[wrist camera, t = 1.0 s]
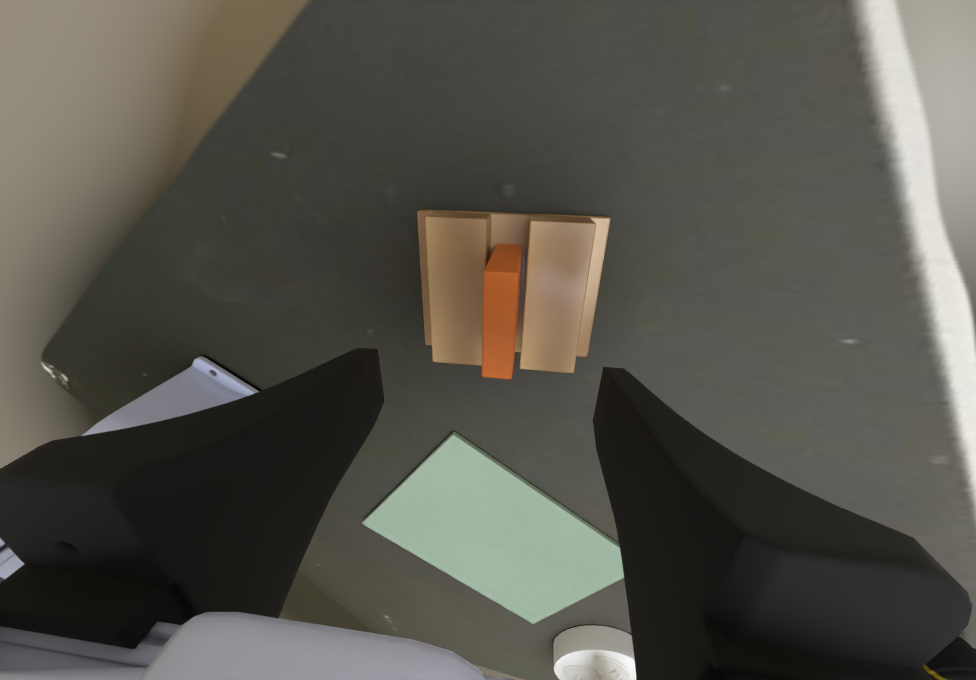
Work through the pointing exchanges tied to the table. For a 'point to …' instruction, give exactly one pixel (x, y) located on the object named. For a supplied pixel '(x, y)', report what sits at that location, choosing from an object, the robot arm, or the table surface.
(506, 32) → the table surface
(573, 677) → the character figurine
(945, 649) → the tape measure
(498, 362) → the block
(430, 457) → the mat
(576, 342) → the holder
